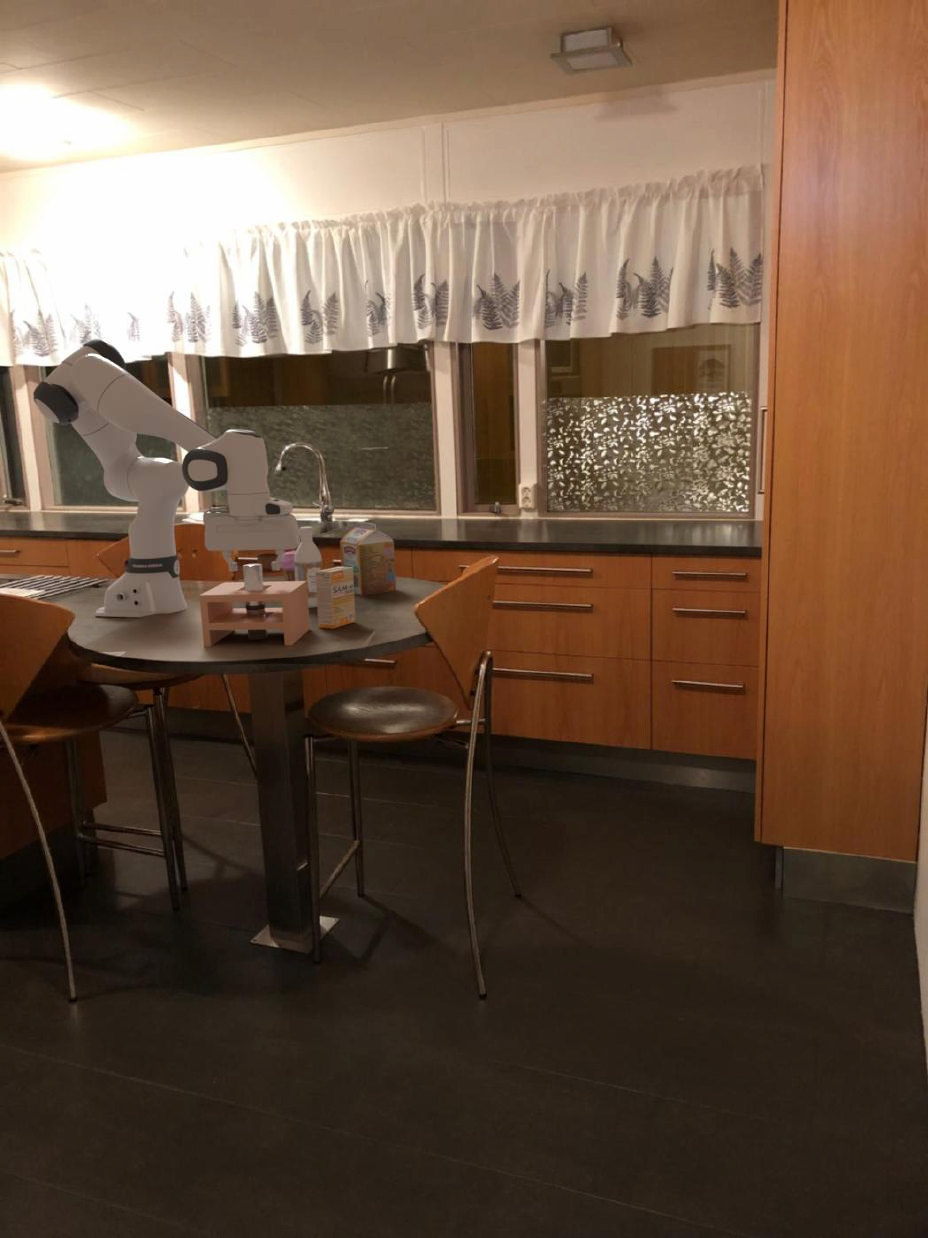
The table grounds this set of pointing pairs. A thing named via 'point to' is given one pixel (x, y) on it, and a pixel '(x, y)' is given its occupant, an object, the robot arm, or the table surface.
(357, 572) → the milk carton
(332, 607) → the supplement box
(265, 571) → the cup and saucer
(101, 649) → the table surface
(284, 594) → the collar frame
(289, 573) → the cupcake
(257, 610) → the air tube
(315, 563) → the bath foam
